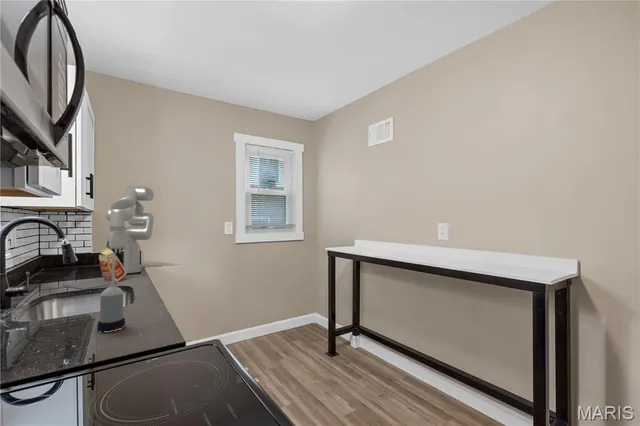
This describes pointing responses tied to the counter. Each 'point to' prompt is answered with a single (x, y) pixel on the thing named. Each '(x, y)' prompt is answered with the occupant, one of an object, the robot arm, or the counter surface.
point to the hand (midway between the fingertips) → (116, 259)
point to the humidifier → (111, 306)
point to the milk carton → (110, 265)
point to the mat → (89, 284)
